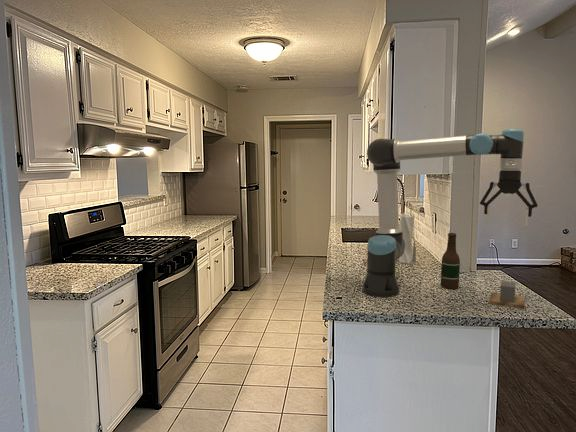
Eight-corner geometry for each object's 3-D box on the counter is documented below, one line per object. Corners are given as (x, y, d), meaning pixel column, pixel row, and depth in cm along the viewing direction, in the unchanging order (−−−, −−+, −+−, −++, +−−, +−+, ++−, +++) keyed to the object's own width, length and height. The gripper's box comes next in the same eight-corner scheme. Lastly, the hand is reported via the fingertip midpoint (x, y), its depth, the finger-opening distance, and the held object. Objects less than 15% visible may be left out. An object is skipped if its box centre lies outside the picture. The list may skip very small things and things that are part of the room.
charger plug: (499, 300, 170) (500, 285, 170) (500, 293, 179) (501, 279, 178) (514, 302, 168) (515, 287, 167) (514, 295, 177) (515, 281, 176)
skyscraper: (411, 265, 230) (413, 212, 226) (396, 263, 234) (397, 211, 231) (416, 262, 237) (418, 211, 233) (401, 260, 241) (403, 210, 238)
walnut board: (489, 303, 171) (489, 300, 170) (491, 294, 181) (491, 292, 181) (524, 308, 165) (524, 305, 165) (523, 299, 176) (524, 296, 175)
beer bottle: (462, 289, 189) (465, 234, 186) (445, 289, 188) (448, 235, 185) (452, 283, 197) (455, 231, 194) (436, 284, 196) (439, 232, 192)
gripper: (474, 169, 172) (471, 222, 175) (548, 170, 160) (543, 227, 163) (476, 169, 178) (473, 220, 181) (547, 170, 167) (542, 224, 170)
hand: (506, 223), depth 172 cm, fingers open, 13 cm apart
